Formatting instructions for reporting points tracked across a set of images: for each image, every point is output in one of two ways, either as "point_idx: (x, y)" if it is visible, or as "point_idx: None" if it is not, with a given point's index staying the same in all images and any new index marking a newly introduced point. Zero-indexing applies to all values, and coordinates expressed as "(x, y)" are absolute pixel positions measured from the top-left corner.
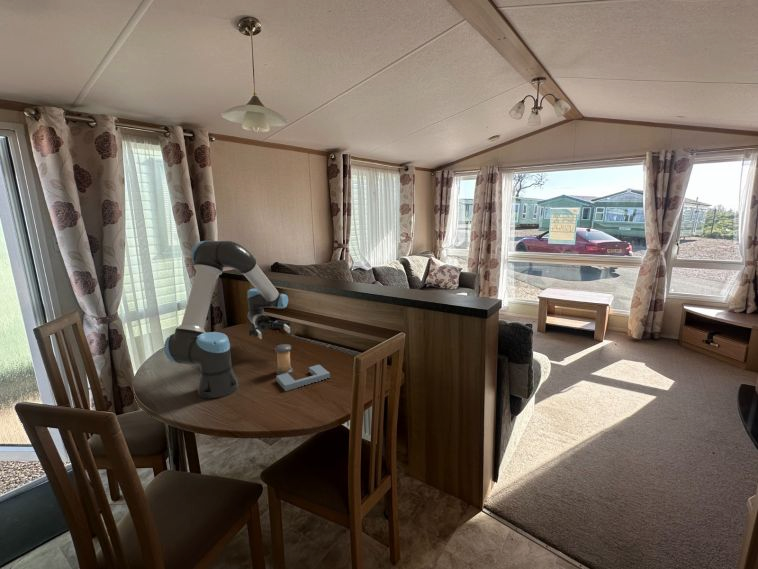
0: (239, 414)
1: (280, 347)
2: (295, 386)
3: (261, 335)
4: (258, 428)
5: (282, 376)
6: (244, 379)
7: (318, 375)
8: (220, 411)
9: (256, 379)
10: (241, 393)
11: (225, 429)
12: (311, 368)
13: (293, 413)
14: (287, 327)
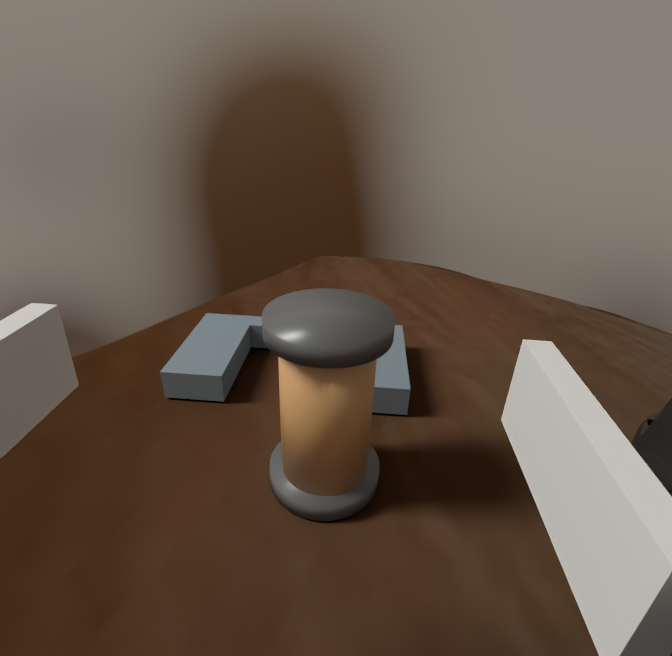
0: (566, 331)
1: (348, 316)
2: None
3: (517, 373)
4: (507, 288)
5: (384, 372)
6: None
7: (253, 319)
8: (643, 363)
9: (515, 496)
10: None
11: (594, 309)
12: (224, 362)
13: (415, 288)
14: (26, 334)
